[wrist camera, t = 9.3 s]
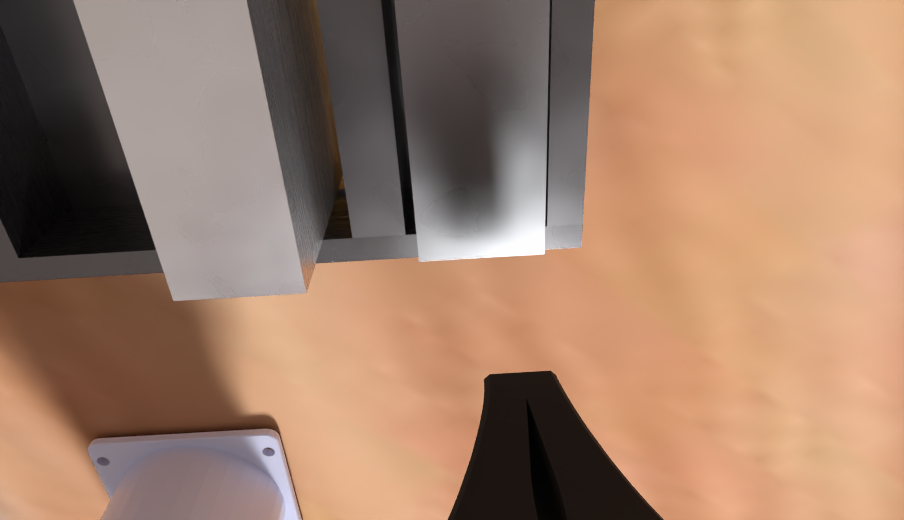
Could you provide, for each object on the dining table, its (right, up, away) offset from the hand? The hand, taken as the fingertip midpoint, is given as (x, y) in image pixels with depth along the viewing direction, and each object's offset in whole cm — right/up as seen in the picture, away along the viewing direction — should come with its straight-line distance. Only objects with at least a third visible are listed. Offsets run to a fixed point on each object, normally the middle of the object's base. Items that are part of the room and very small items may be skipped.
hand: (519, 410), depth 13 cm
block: (-7, +9, +5) cm, 13 cm away
